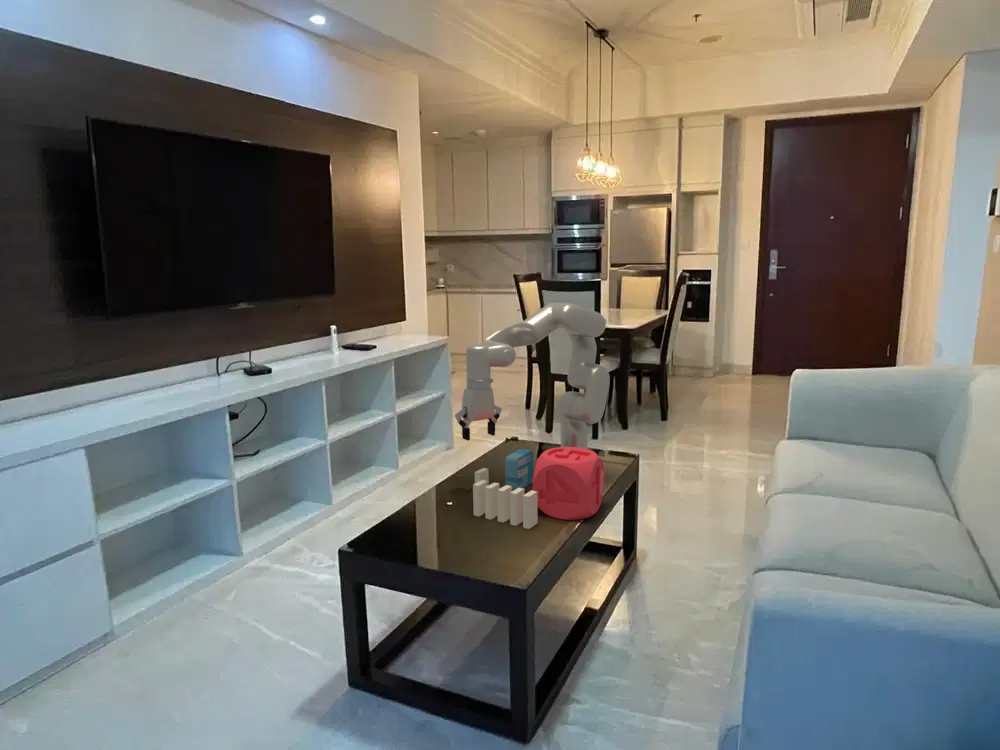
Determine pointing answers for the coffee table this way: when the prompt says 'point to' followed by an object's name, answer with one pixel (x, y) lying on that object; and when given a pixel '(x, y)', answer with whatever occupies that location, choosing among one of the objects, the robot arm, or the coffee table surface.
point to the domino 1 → (482, 475)
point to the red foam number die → (569, 482)
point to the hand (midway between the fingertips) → (478, 437)
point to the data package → (519, 469)
